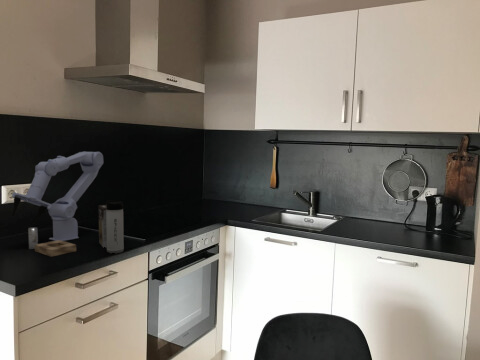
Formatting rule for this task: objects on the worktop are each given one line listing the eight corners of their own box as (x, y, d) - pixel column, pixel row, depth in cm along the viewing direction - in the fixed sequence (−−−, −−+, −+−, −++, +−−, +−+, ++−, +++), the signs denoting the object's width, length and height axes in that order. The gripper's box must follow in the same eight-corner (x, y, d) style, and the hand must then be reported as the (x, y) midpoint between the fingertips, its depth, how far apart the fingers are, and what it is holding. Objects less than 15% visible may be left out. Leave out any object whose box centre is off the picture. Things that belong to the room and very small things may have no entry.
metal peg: (35, 246, 160) (34, 227, 160) (39, 247, 158) (39, 228, 158) (27, 248, 158) (26, 228, 157) (31, 249, 156) (30, 229, 155)
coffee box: (98, 242, 168) (97, 205, 166) (114, 241, 171) (113, 204, 169) (102, 248, 160) (102, 208, 158) (119, 246, 163) (118, 207, 161)
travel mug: (112, 248, 159) (111, 199, 157) (126, 250, 157) (126, 200, 155) (102, 252, 153) (101, 201, 151) (117, 254, 151) (116, 202, 149)
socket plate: (59, 246, 162) (59, 240, 161) (76, 251, 154) (76, 244, 154) (34, 251, 153) (34, 244, 153) (51, 256, 146) (51, 250, 146)
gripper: (18, 179, 154) (2, 212, 149) (56, 192, 160) (43, 224, 154) (18, 184, 160) (3, 215, 155) (55, 196, 166) (42, 227, 160)
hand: (23, 220), depth 155 cm, fingers open, 7 cm apart
